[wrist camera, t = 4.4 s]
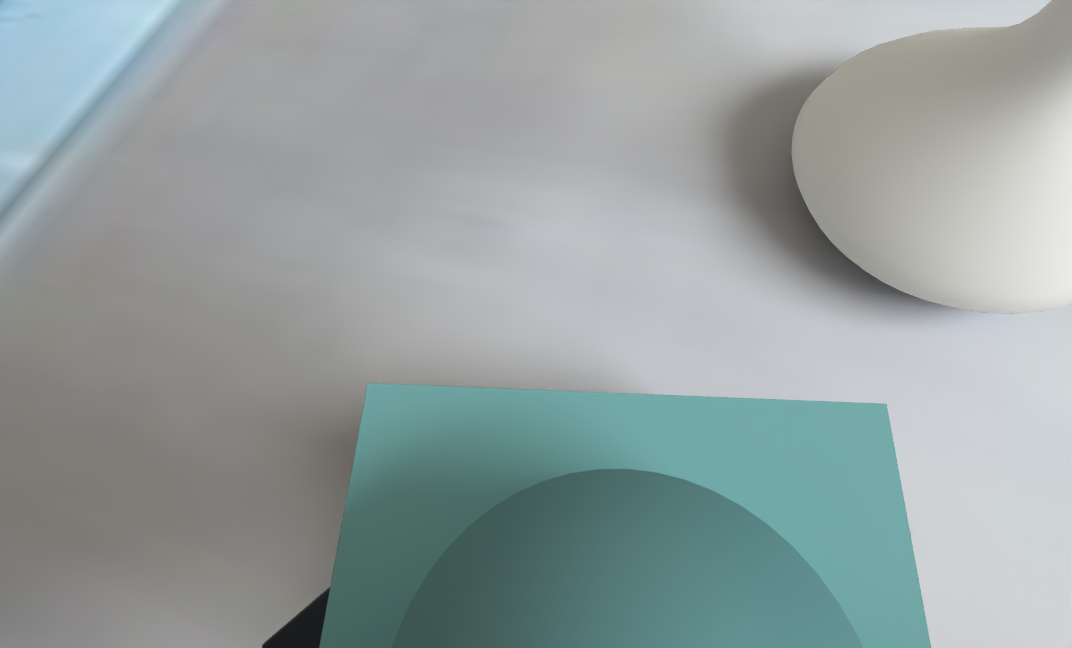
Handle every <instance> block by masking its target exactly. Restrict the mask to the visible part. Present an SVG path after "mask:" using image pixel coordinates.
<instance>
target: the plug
mask: <svg viewBox="0 0 1072 648" xmlns="http://www.w3.org/2000/svg"><path fill="white" fill-rule="evenodd" d="M319 648H931V644H930V639H929V634H928V628H927V623H926V617H925V612H924V606H923V601H922V595H921V590H920V584H919V579H918V574H917V568H916V563H915V557H914V552H913V546H912V541H911V535H910V530H909V524H908V519H907V513H906V508H905V503H904V497H903V492H902V486H901V481H900V475H899V470H898V464H897V459H896V453H895V448H894V443H893V437H892V432H891V426H890V421H889V415H888V410H887V404H878V403H853V402H828V401H803V400H778V399H753V398H728V397H703V396H678V395H653V394H628V393H603V392H578V391H553V390H529V389H504V388H479V387H454V386H429V385H404V384H379V383H368V385H367V390H366V396H365V401H364V407H363V412H362V418H361V423H360V428H359V434H358V439H357V445H356V450H355V456H354V461H353V467H352V472H351V477H350V483H349V488H348V494H347V499H346V505H345V510H344V516H343V521H342V526H341V532H340V537H339V543H338V548H337V554H336V559H335V565H334V570H333V575H332V581H331V586H330V592H329V597H328V603H327V608H326V614H325V619H324V624H323V630H322V635H321V641H320V646H319Z"/></svg>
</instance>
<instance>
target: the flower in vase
mask: <svg viewBox="0 0 1072 648" xmlns="http://www.w3.org/2000/svg"><path fill="white" fill-rule="evenodd" d="M791 153H792V163H793V170H794V174H795V177H796V181H797V185H798V188H799V190H800V192H801V194H802V197H803V199H804V201H805V203H806V205H807V207H808V209H809V211H810V213H811V214H812V216H813V218H814V219H815V221H816V223H817V224H818V226H819V227H820V229H821V230H822V231H823V232H824V234H825V235H826V236H827V237H828V238H829V240H830V241H831V242H832V243H833V244H834V245H835V246H836V247H837V248H838V249H839V250H840V251H841V252H842V253H843V254H844V255H845V256H846V257H848V258H849V259H850V260H851V261H853V262H854V263H855V264H857V265H858V266H859V267H860V268H862V269H863V270H864V271H866V272H868V273H869V274H871V275H872V276H874V277H876V278H877V279H879V280H880V281H882V282H884V283H886V284H888V285H890V286H892V287H894V288H896V289H898V290H900V291H902V292H904V293H907V294H909V295H912V296H915V297H918V298H920V299H923V300H926V301H930V302H934V303H937V304H941V305H945V306H949V307H954V308H959V309H965V310H971V311H977V312H984V313H1001V314H1019V313H1034V312H1041V311H1046V310H1051V309H1056V308H1061V307H1064V306H1067V305H1070V304H1072V0H1052V1H1051V2H1050V3H1048V4H1047V5H1046V6H1045V7H1044V8H1043V9H1042V10H1041V11H1039V12H1038V13H1037V14H1036V15H1034V16H1032V17H1030V18H1029V19H1027V20H1025V21H1023V22H1022V23H1020V24H1017V25H1013V26H1009V27H988V28H963V29H949V30H937V31H931V32H926V33H920V34H916V35H912V36H908V37H904V38H900V39H896V40H893V41H890V42H886V43H883V44H880V45H877V46H875V47H872V48H870V49H868V50H865V51H863V52H861V53H860V54H858V55H856V56H855V57H853V58H851V59H850V60H848V61H847V62H846V63H844V64H843V65H842V66H841V67H839V68H838V69H837V70H836V71H834V72H833V73H832V74H831V75H830V76H828V77H827V78H826V79H825V80H824V81H822V82H821V83H820V84H819V86H818V87H817V88H816V89H815V90H814V91H813V92H812V93H811V94H810V96H809V97H808V99H807V100H806V102H805V103H804V105H803V106H802V108H801V111H800V113H799V115H798V118H797V120H796V123H795V127H794V132H793V136H792V150H791Z"/></svg>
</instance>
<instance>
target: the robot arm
mask: <svg viewBox="0 0 1072 648" xmlns="http://www.w3.org/2000/svg"><path fill="white" fill-rule="evenodd" d="M329 592H330V587H329V588H328V589H327V590H326V591H325V592H323V593H322V594H321V595H320V596H319V597H317V598H316V599H315V600H314V601H313V602H312V603H310V604H309V605H308V606H307V607H306V608H305V609H303V610H302V611H301V612H300V613H299V614H298V615H296V616H295V617H294V618H293V619H292V620H291V621H289V622H288V623H287V624H286V625H285V626H284V627H282V628H281V629H280V630H279V631H278V632H277V633H275V634H274V635H273V636H272V637H271V638H270V639H268V640H267V641H266V642H265V643H264V644H263V645H262V648H319V646H320V641H321V635H322V630H323V624H324V619H325V614H326V608H327V603H328V597H329Z"/></svg>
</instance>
